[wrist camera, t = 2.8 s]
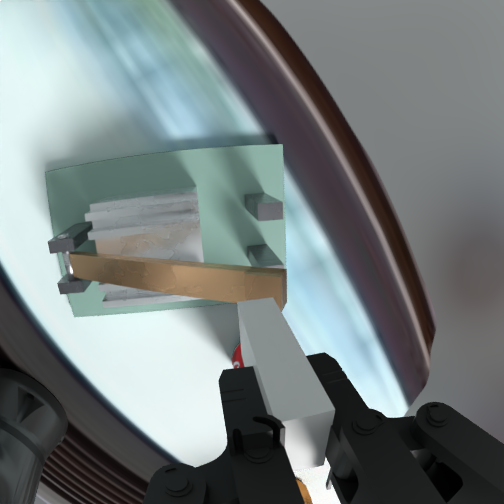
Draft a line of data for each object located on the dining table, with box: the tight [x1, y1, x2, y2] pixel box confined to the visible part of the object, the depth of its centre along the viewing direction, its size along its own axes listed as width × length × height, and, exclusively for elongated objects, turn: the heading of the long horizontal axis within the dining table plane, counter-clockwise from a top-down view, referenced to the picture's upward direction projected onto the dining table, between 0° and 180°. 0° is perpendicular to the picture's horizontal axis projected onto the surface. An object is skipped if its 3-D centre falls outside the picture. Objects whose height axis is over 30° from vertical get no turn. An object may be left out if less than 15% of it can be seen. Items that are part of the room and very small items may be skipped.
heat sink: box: [85, 186, 204, 308], centre depth 26 cm, size 9×9×6 cm
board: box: [45, 144, 286, 317], centre depth 30 cm, size 24×16×1 cm, turn 93°
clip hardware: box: [48, 193, 284, 294], centre depth 27 cm, size 19×7×8 cm, turn 93°
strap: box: [69, 251, 287, 312], centre depth 19 cm, size 17×2×1 cm, turn 93°
